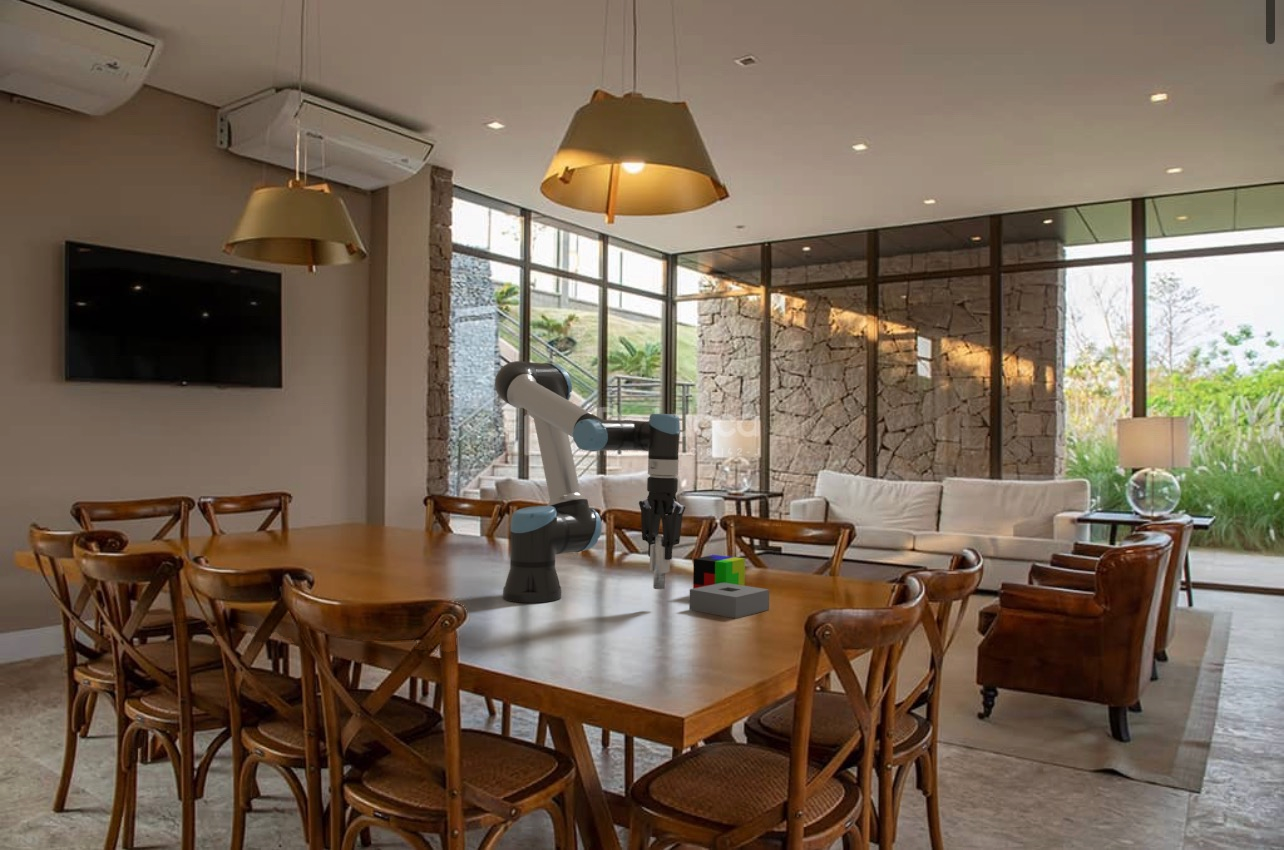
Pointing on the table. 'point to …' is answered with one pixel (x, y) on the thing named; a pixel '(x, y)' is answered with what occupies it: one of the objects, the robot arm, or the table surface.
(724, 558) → the puzzle toy
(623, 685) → the table surface
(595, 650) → the table surface
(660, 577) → the pin
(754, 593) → the socket block
